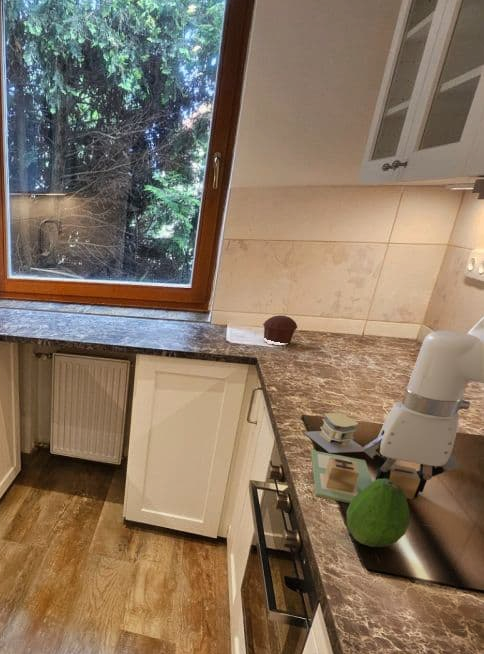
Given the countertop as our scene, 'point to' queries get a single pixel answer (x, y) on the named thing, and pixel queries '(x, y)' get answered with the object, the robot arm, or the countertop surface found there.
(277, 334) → the muffin
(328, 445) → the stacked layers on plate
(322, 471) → the word mat
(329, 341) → the countertop surface
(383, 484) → the avocado
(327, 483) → the light brown block
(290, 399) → the countertop surface
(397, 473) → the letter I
